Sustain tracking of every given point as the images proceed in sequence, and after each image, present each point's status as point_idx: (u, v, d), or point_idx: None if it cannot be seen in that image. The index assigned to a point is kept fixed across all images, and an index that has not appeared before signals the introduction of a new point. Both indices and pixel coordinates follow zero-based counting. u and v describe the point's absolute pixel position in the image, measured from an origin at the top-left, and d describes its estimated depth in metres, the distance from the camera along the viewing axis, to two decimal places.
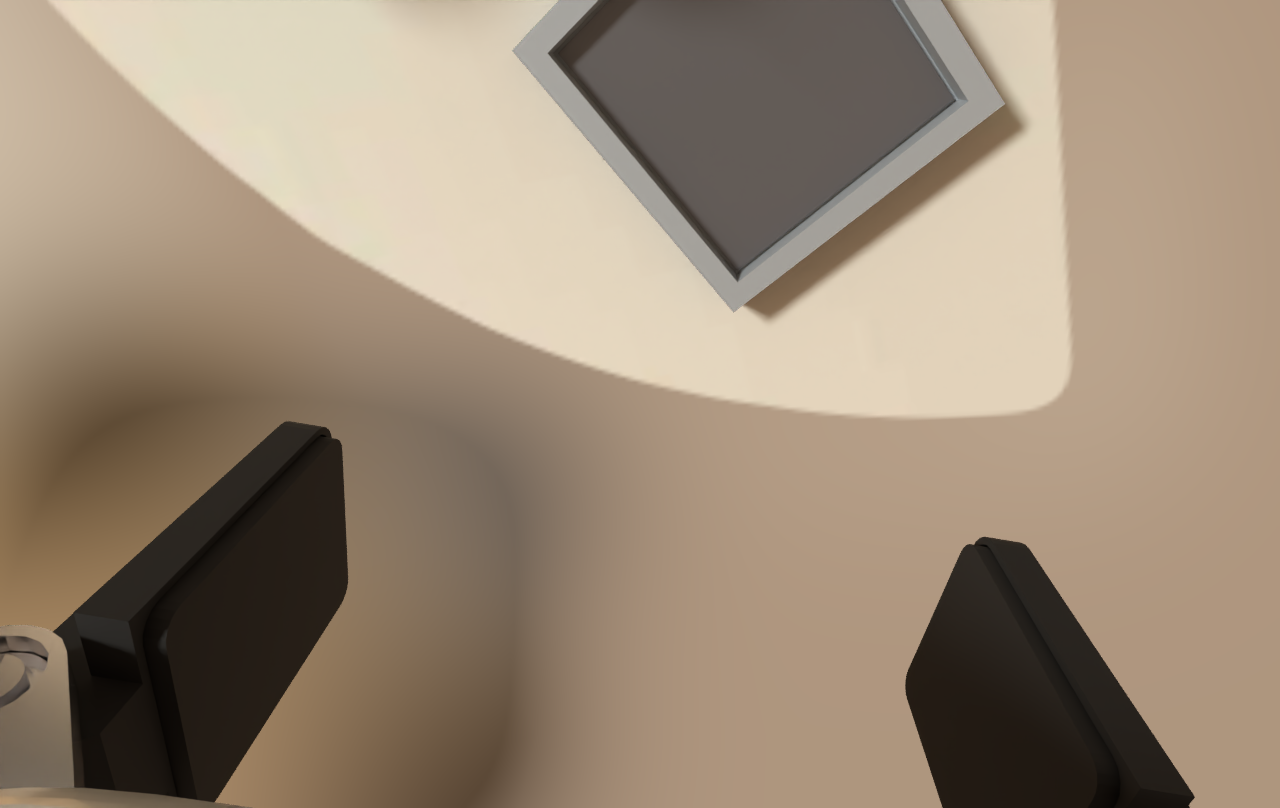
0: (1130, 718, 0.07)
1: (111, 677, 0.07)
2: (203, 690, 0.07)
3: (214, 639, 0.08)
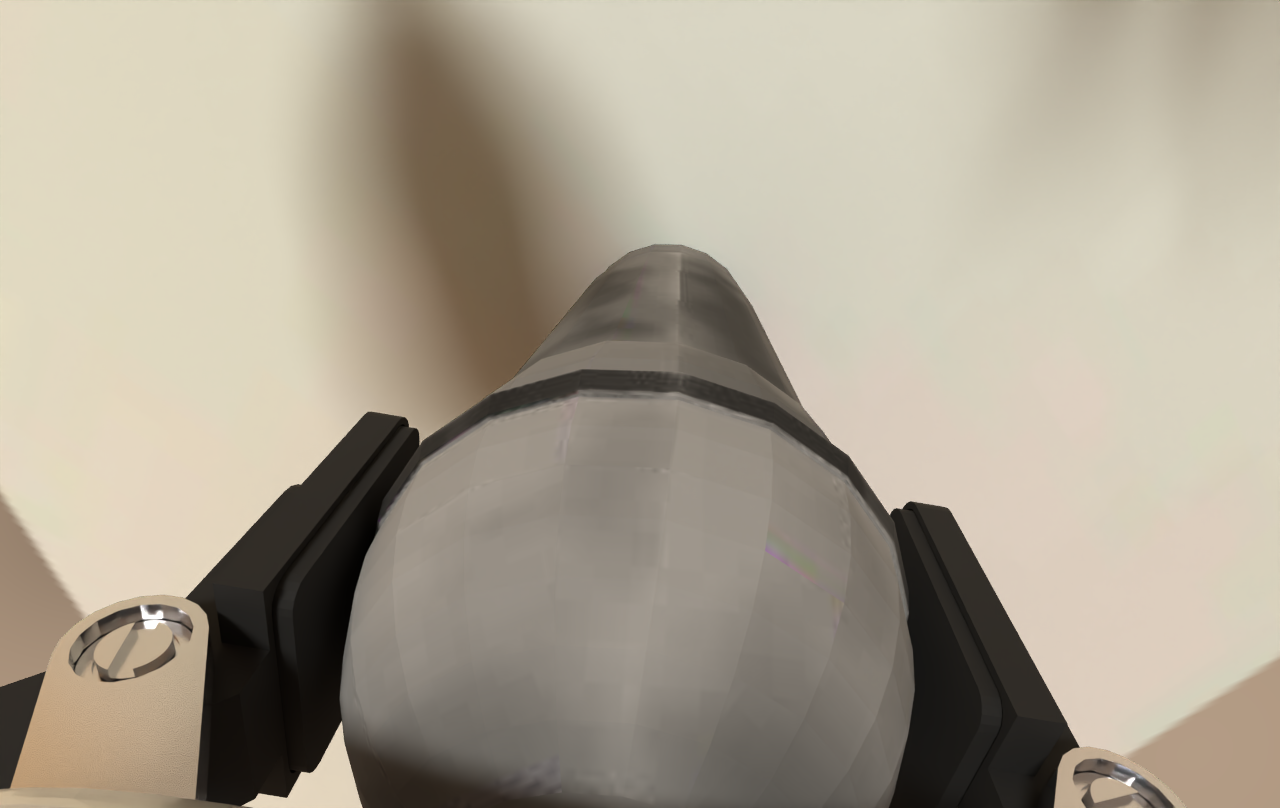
0: (1020, 657, 0.08)
1: (241, 644, 0.07)
2: (314, 659, 0.08)
3: (324, 612, 0.08)
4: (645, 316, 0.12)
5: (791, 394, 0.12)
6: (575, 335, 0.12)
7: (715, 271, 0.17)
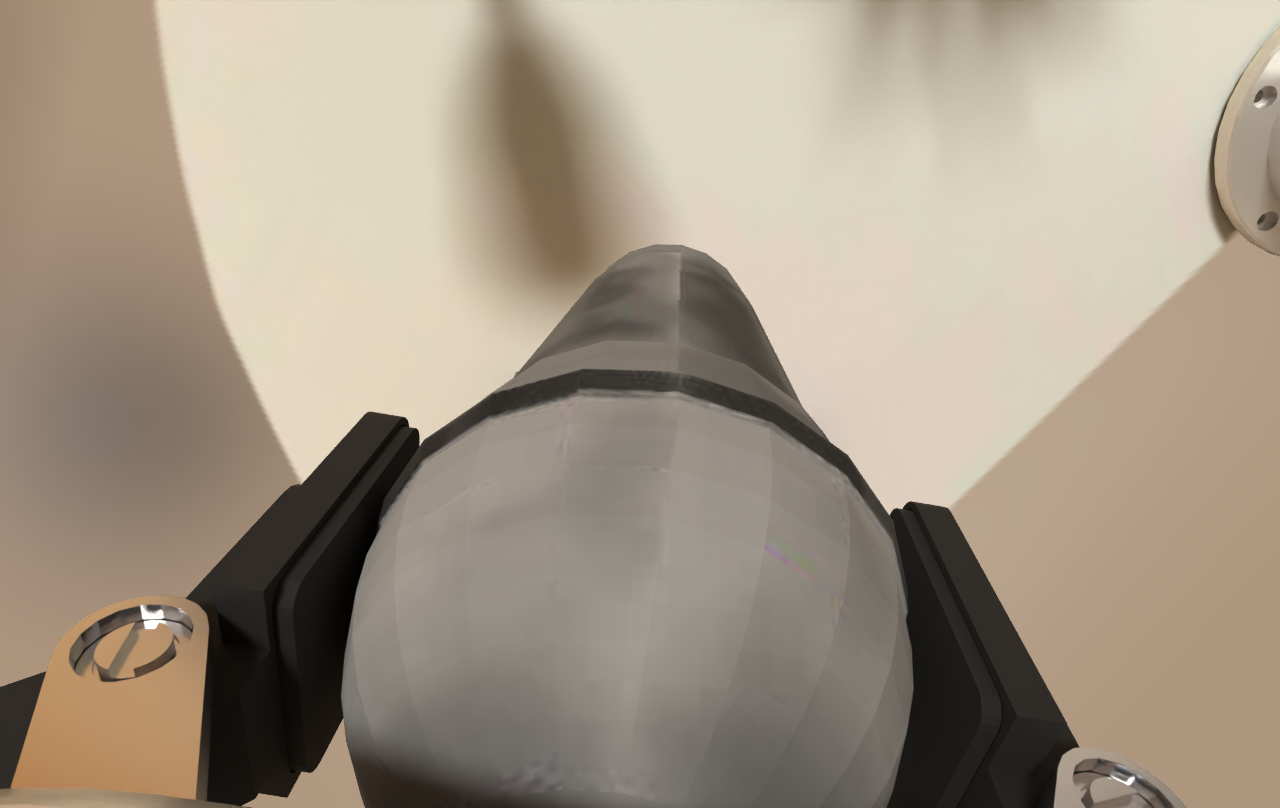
0: (1019, 657, 0.08)
1: (241, 644, 0.07)
2: (314, 659, 0.08)
3: (324, 612, 0.08)
4: (645, 316, 0.12)
5: (791, 394, 0.12)
6: (575, 335, 0.12)
7: (715, 271, 0.17)
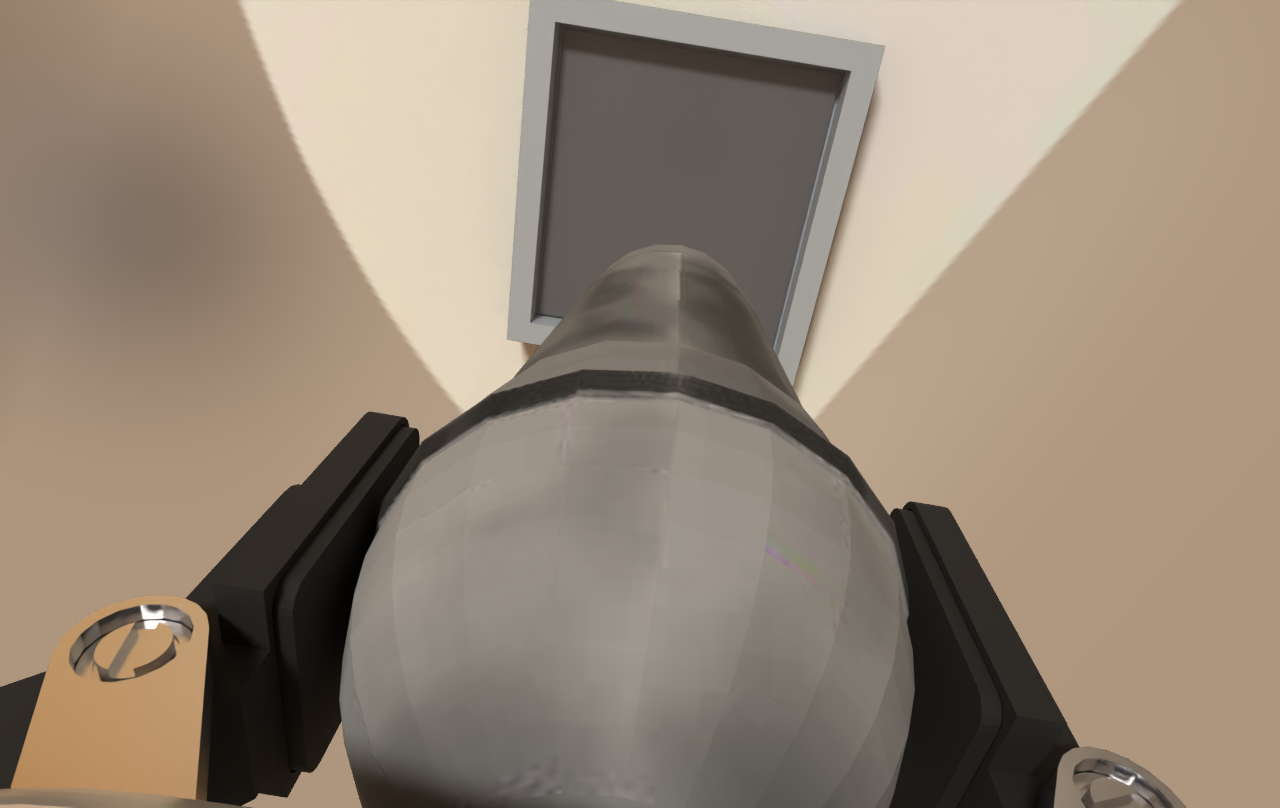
0: (1019, 657, 0.08)
1: (241, 644, 0.07)
2: (315, 659, 0.08)
3: (324, 612, 0.08)
4: (645, 316, 0.12)
5: (791, 394, 0.12)
6: (575, 335, 0.12)
7: (715, 271, 0.17)
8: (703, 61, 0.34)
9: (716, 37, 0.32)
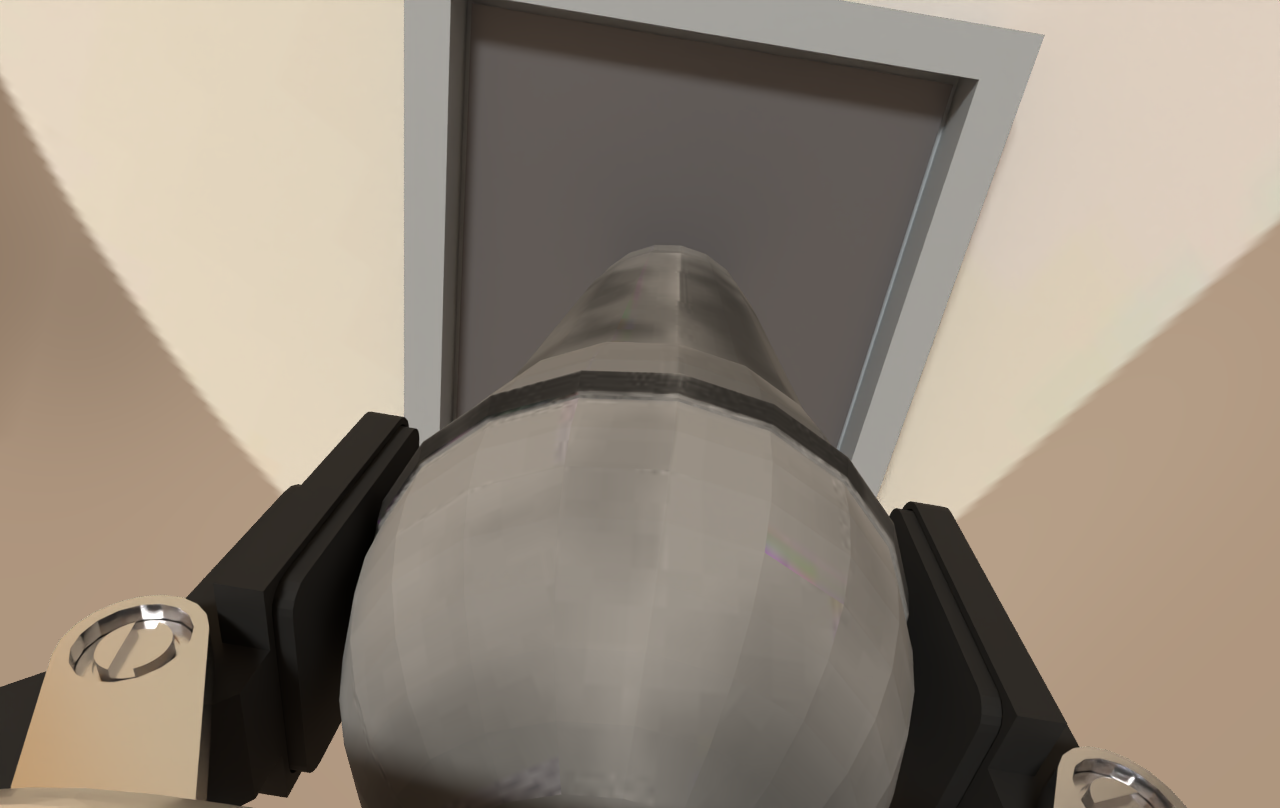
0: (1019, 657, 0.08)
1: (242, 643, 0.07)
2: (315, 659, 0.08)
3: (324, 611, 0.08)
4: (645, 317, 0.12)
5: (791, 395, 0.12)
6: (575, 336, 0.12)
7: (715, 272, 0.17)
8: (714, 61, 0.19)
9: (739, 19, 0.18)
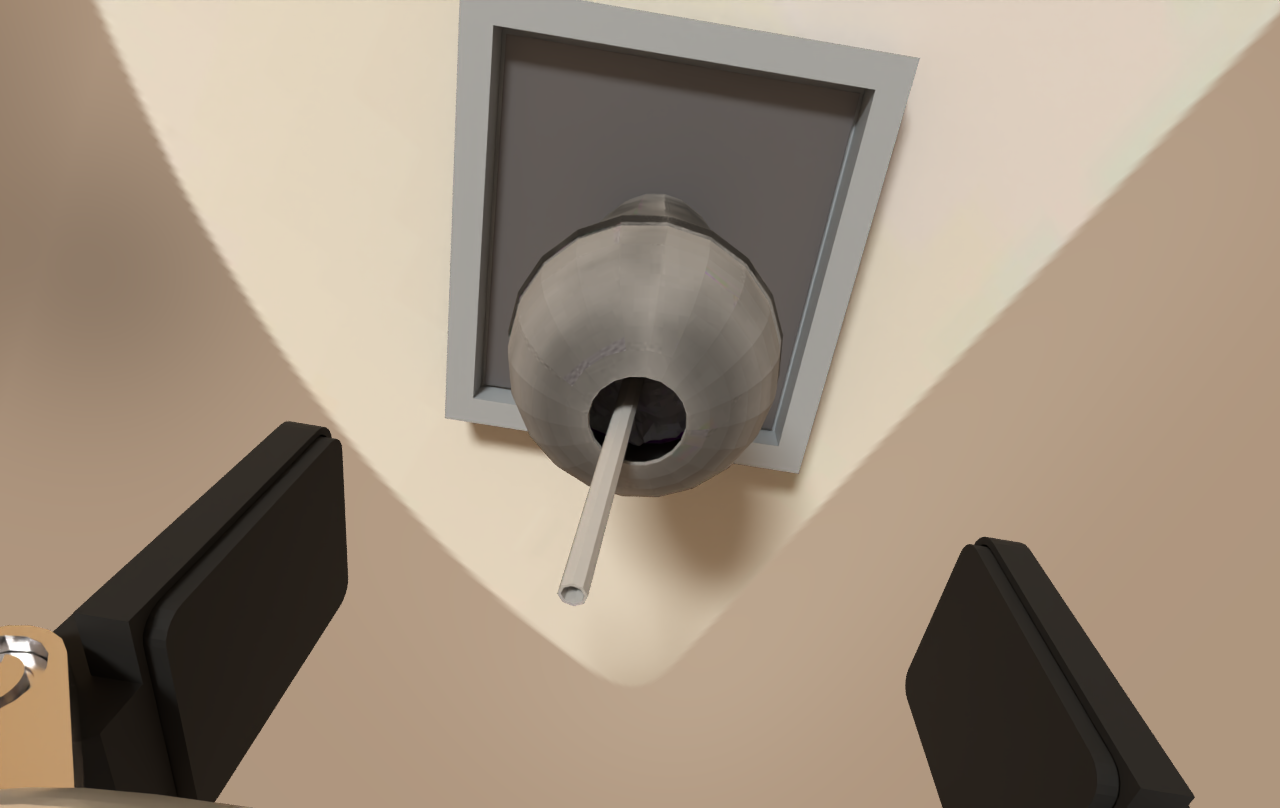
0: (1130, 718, 0.07)
1: (111, 677, 0.07)
2: (203, 690, 0.07)
3: (214, 639, 0.08)
4: (646, 213, 0.21)
5: None
6: None
7: (687, 205, 0.26)
8: (685, 76, 0.26)
9: (702, 46, 0.25)
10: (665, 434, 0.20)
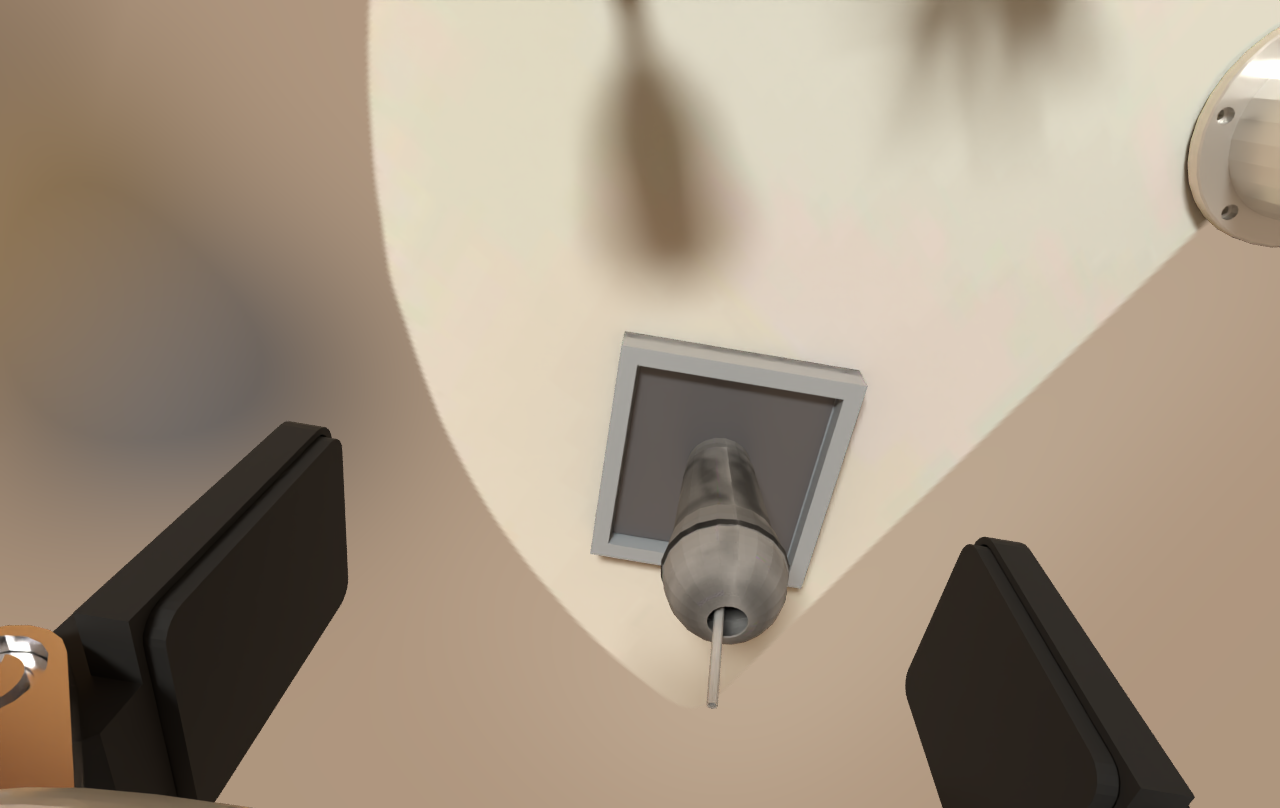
0: (1130, 718, 0.07)
1: (111, 677, 0.07)
2: (203, 690, 0.07)
3: (214, 639, 0.08)
4: (723, 491, 0.42)
5: (764, 513, 0.42)
6: (704, 497, 0.42)
7: (739, 456, 0.47)
8: (739, 383, 0.48)
9: (749, 377, 0.46)
10: None
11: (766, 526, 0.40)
